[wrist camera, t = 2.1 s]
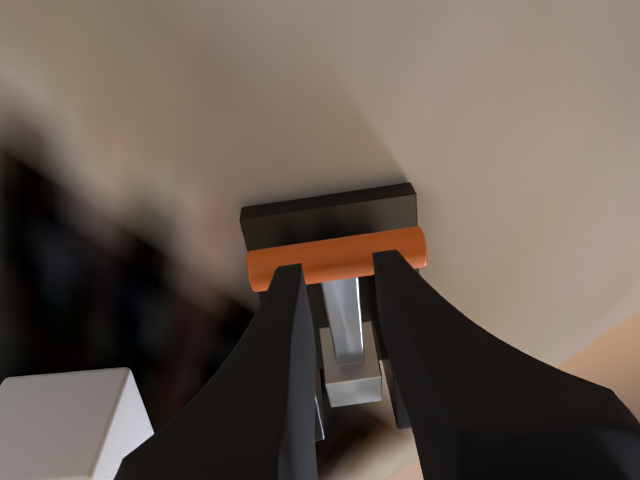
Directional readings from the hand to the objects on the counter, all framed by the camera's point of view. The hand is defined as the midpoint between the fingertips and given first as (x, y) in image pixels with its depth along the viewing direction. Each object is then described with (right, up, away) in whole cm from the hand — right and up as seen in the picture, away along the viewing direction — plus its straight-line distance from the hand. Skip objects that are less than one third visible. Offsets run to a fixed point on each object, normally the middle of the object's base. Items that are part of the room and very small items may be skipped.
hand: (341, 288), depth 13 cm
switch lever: (0, -1, +5) cm, 6 cm away
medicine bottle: (-15, -9, +17) cm, 24 cm away
